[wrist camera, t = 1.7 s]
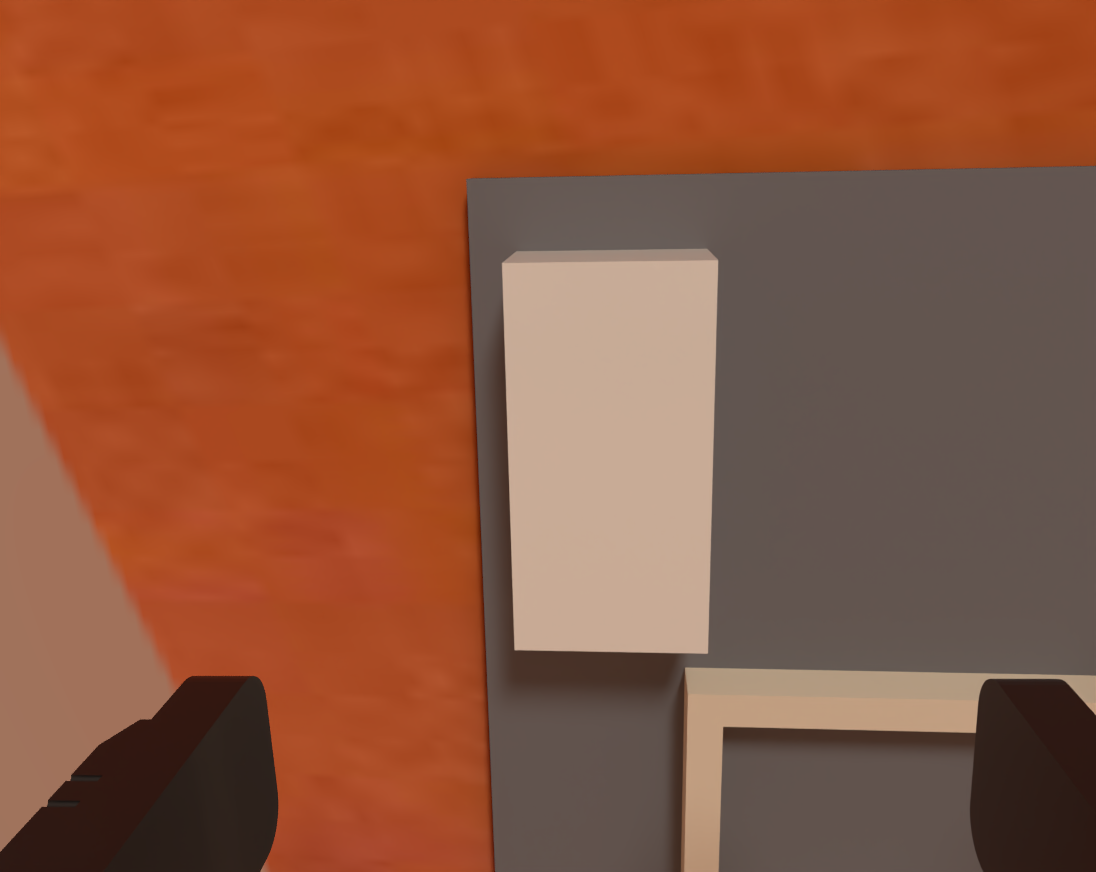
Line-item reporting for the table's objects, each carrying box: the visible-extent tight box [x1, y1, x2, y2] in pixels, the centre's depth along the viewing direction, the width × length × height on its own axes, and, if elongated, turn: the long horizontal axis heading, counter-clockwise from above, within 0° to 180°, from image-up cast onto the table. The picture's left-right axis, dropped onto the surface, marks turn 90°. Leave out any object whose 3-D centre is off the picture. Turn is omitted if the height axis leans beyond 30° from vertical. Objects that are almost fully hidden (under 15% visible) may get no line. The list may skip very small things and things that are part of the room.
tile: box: [502, 249, 718, 654], centre depth 20 cm, size 8×4×2 cm, turn 1°
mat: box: [467, 166, 1096, 872], centre depth 22 cm, size 19×17×2 cm
